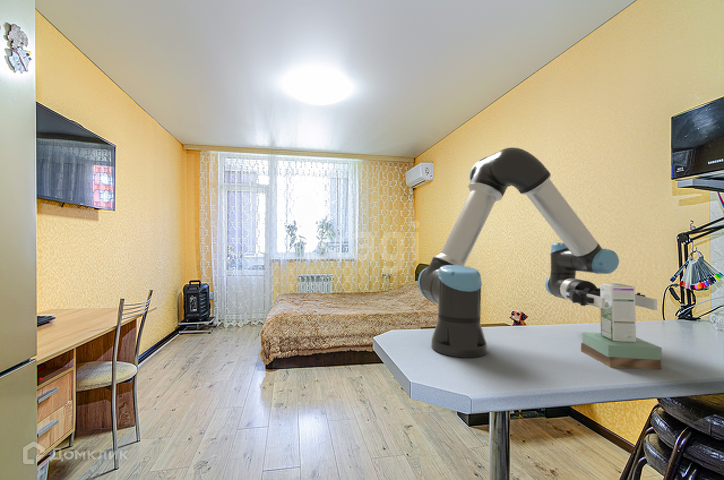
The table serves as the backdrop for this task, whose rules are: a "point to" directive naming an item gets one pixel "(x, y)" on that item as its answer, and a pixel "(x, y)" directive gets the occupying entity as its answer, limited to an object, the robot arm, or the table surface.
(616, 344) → the top slab
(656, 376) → the table surface
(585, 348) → the bottom slab
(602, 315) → the syrup box
